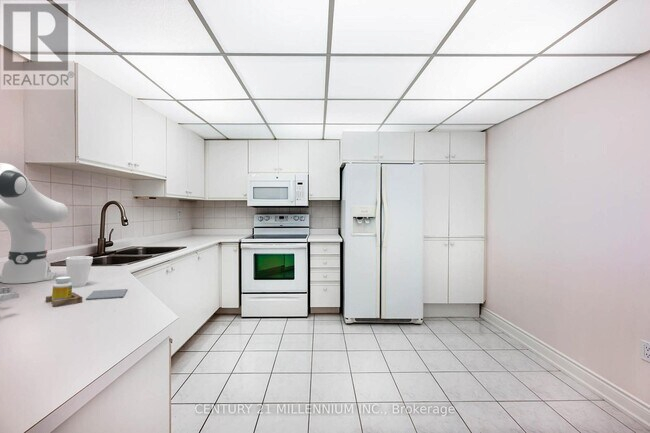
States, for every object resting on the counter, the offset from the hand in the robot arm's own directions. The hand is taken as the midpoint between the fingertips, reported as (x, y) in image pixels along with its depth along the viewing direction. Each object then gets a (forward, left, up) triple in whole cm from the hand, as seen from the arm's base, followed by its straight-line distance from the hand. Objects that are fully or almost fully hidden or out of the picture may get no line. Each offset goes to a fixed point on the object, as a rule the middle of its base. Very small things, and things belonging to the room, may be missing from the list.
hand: (15, 292), depth 91 cm
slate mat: (-13, +24, -6) cm, 28 cm away
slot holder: (-6, +11, -6) cm, 14 cm away
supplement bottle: (-6, +11, -7) cm, 14 cm away
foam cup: (-34, +9, -7) cm, 36 cm away
